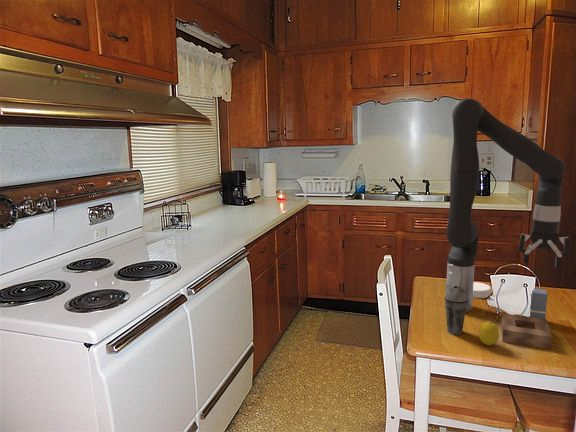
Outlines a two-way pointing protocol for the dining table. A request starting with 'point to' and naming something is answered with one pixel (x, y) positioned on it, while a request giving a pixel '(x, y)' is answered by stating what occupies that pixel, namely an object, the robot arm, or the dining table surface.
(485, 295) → the white shallow cylinder
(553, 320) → the dining table surface
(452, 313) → the beverage cup
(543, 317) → the peg
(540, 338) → the board
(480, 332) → the lemon
